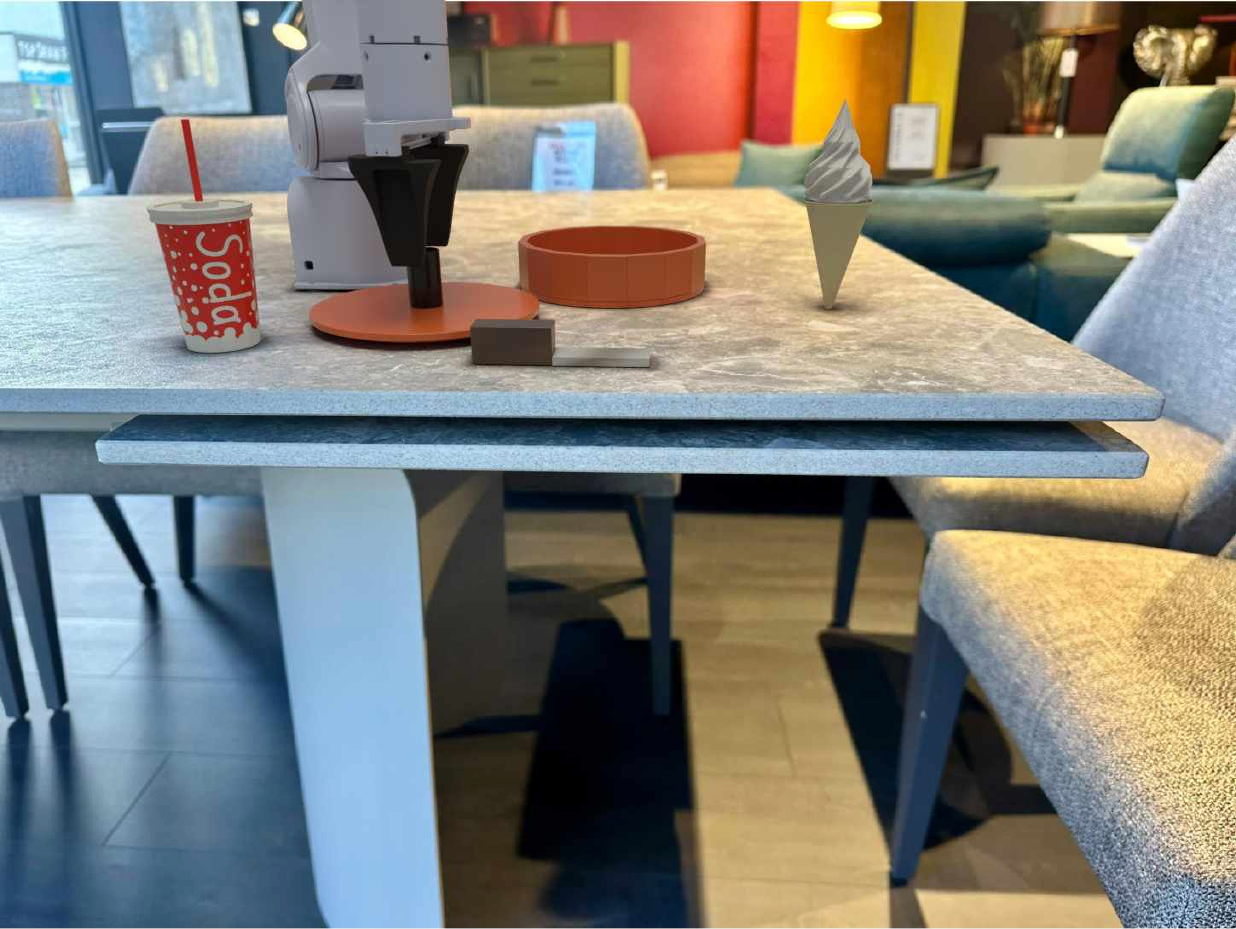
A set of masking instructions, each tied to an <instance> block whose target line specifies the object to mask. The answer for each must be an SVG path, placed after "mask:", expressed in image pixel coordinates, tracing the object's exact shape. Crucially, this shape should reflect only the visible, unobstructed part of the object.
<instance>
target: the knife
mask: <svg viewBox="0 0 1236 929" xmlns="http://www.w3.org/2000/svg"><path fill="white" fill-rule="evenodd" d="M470 335H471V338H470V348H471V349H470V350H471V363H472V364H473V365H513V366H515V365H517V366H519V365H520V366H521V365H522V366H553V367H609V368H610V367H612V368H614V367H616V368H617V367H618V368H650V367H651V348H648V347H647V348H646V347H583V346H582V347H579V346H578V347H575V346H574V347H572V346H557V345H556V320H555V319H531V320H528V319H476V320H475V321H474V323H473V324H472V325H471V326H470Z"/></svg>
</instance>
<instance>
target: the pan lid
mask: <svg viewBox="0 0 1236 929" xmlns="http://www.w3.org/2000/svg"><path fill="white" fill-rule="evenodd" d="M406 268H407V279H408V284H396V285H387V286H380V287H372V288H367V289H361V290H352V291H348V292H343V293H340V294H336V295H333V296H331V297H330V296H329V297H328V298H325V299H323V300H320V301H319V302H317V303H316V304H315V305H313V306H312V307H311V308H310V309H309V313H308V317H309V321H310V323H311V325H312V326H313V327H314V328H315V329H317V330H319V331H321V332H323V333H327V334H330V335H334V336H338V337H343V338H347V339H354V340H364V341H371V342H380V343H393V344H427V343H443V342H452V341H459V340H467V339H471V335H470V326H471V325H472V324H473V323H474V321H475V320H476V319H528V320H534V319H535V317H537V315H538V314H539V313H540V308H541V307H540V300H538V299H537V298H536V297H535V296H533V295H532V294H530V293H527V292H525V291H522V289H518V288H514V287H510V286H505V285H498V284H491V283H481V282H468V281H467V282H466V281H465V282H464V281H443V279H442V267H441V253H440V249H439V247H436V246H426V253H425V259H424V263H423V265H422V266H421V267H406Z"/></svg>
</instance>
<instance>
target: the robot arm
mask: <svg viewBox="0 0 1236 929" xmlns="http://www.w3.org/2000/svg"><path fill="white" fill-rule="evenodd" d="M301 4H302V9H303V13H304V18H305V24H306V29H307V34H308V39H309V43H310V48H309V49H308V50H307V51H306V52H305V53H304V54H303V55H302V56H300V57H299V58H298V59H297V60H296V61H295V62H294V63H292V65H291V66H290V67H289V69H288V72H287V75H286V77H285V81H284V97H285V104H286V116H287V117H286V119H287V127H288V133H289V134H288V135H289V141H290V145H291V149H292V153H293V156H294V159H295V161H296V163H297V165H299V166H300V168H302V169H303V170H304V172H307V173H309V174H310V175H300V176H296V177H294V178H293V179H292V180H291V182H290V184H289V185H288V186H289V187H288V190H287V197H286V211H287V212H286V213H287V221H288V228H289V234H290V235H289V236H290V243H291V250H292V257H293V264H294V271H295V279H296V281H295V282H294V283H293V288H294V289H296V290H352V291H356V290H361V289H367V288H372V287H380V286H387V285H396V284H408V279H407V268H406V267H421V266H422V265H423V263H424V259H425V253H426V247H437V248H439V247H440V248H443V247H448V246H449V243H450V238H451V233H452V232H451V231H452V226H453V225H452V224H453V215H454V208H455V199H456V195H457V190H458V185H459V181H460V177H461V175H462V171H463V168H464V166H465V163H466V161H467V158H468V156H469V153H470V146H469V144H466V143H446V142H448V141H450V140H451V136H450V135H451V134H450V132H453V131H456V130H467V129H471V128H472V121H471V117H468V116H453V115H454V114H453V113H454V112H453V101H452V100H453V99H452V85H451V82H452V81H451V69H450V51H449V50H450V49H449V46H448V45H449V38H448V37H449V35H448V21H447V7H446V6H447V4H446V0H301Z"/></svg>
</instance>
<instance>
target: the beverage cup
mask: <svg viewBox="0 0 1236 929" xmlns="http://www.w3.org/2000/svg"><path fill="white" fill-rule="evenodd" d="M180 124H181V129H182V134H183V140H184V141H183V142H184V147H185V152H186V157H187V164H188V168H189V175H190V180H191V186H192V191H193V197H194V198H193V199H192V198H191V199H184V200H175V201H165V202H160V203H154V204H150V205H148V206H146V212H147V213H148V214H149V221H150V223H153V224H154V226H155V231H156V234H157V237H158V242H159V245H160V249H161V253H162V256H163V260H164V261H163V262H164V265H165V269H166V272H167V276H168V280H169V284H170V288H171V291H172V295H173V298H174V303H175V306H176V311H177V314H178V318H179V322H180V325H181V330H182V334H183V338H184V341H185V344H186V345H185V346H186V347H187V349H188V350H189V351H191V352H195V353H206V354H212V353H213V354H214V353H227V352H234V351H235V352H236V351H240V350H245V349H249V348H252V347H254V346H256V345H258V344H259V343H260V342H261V341H262V336H261V327H260V316H259V315H260V314H259V305H258V294H257V285H256V274H255V272H256V271H255V262H254V252H253V241H252V231H251V230H252V229H251V218H252V217H253V216H254V214H253V211H252V210H253V203H252V202H251V201H250V200H245V199H235V198H204V197H203V191H202V184H201V179H200V174H199V168H198V161H197V156H196V151H195V145H194V139H193V133H192V127H191V122H190V119H188V118H184V119H180Z"/></svg>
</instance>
